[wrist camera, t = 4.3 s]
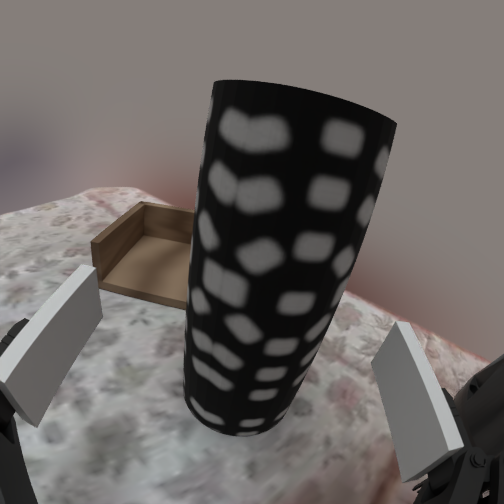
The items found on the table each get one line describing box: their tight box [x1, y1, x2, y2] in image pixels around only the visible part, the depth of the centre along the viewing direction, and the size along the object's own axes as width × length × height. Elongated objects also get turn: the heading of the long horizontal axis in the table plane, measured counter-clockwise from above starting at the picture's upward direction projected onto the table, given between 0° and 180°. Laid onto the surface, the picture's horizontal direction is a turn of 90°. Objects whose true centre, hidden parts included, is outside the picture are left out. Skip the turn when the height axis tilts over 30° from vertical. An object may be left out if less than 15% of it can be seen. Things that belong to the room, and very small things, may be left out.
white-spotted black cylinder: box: [183, 80, 397, 436], centre depth 16 cm, size 8×8×20 cm
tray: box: [91, 201, 195, 310], centre depth 32 cm, size 13×13×6 cm
